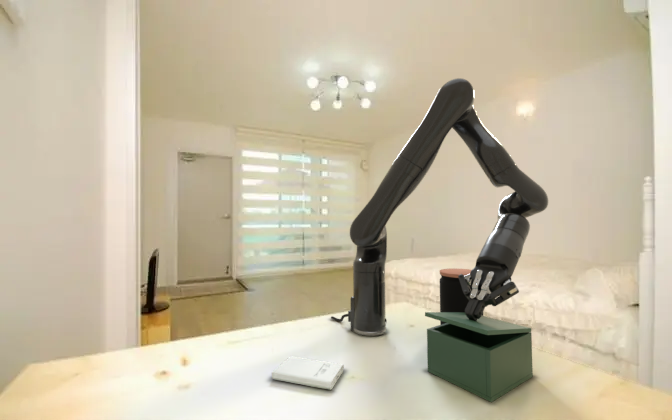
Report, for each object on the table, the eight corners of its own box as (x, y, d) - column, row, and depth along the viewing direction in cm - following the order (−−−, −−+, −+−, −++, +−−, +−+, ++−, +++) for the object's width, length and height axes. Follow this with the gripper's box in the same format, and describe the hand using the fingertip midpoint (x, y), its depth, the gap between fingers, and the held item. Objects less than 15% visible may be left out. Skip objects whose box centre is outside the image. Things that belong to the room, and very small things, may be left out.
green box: (491, 402, 54) (490, 350, 54) (427, 371, 65) (426, 328, 65) (532, 376, 62) (531, 332, 63) (470, 353, 74) (469, 315, 74)
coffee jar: (475, 333, 87) (474, 268, 88) (490, 348, 76) (488, 275, 77) (436, 331, 88) (435, 268, 89) (446, 347, 77) (444, 274, 78)
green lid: (487, 335, 54) (488, 330, 54) (424, 316, 65) (425, 312, 65) (531, 332, 63) (531, 328, 63) (469, 315, 74) (469, 312, 74)
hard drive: (290, 362, 69) (343, 370, 65) (271, 380, 61) (330, 391, 57) (290, 355, 69) (343, 363, 65) (271, 371, 61) (330, 382, 57)
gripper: (466, 240, 74) (434, 300, 66) (525, 243, 63) (495, 314, 56) (479, 261, 77) (450, 320, 69) (538, 267, 66) (511, 338, 58)
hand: (470, 317), depth 62 cm, fingers closed
